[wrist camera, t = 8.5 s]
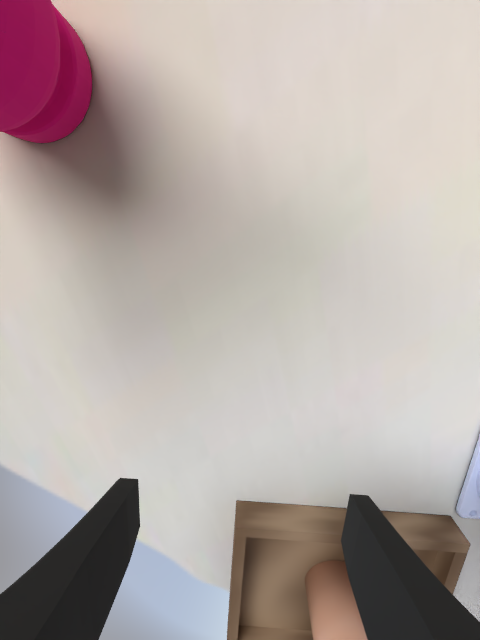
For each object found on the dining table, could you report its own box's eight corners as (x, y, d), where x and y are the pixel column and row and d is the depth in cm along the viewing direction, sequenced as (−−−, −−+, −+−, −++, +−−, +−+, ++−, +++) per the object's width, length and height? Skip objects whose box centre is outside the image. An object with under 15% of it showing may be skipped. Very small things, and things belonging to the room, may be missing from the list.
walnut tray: (450, 515, 23) (470, 544, 21) (412, 633, 27) (426, 667, 25) (236, 500, 24) (235, 527, 22) (228, 619, 27) (226, 652, 25)
